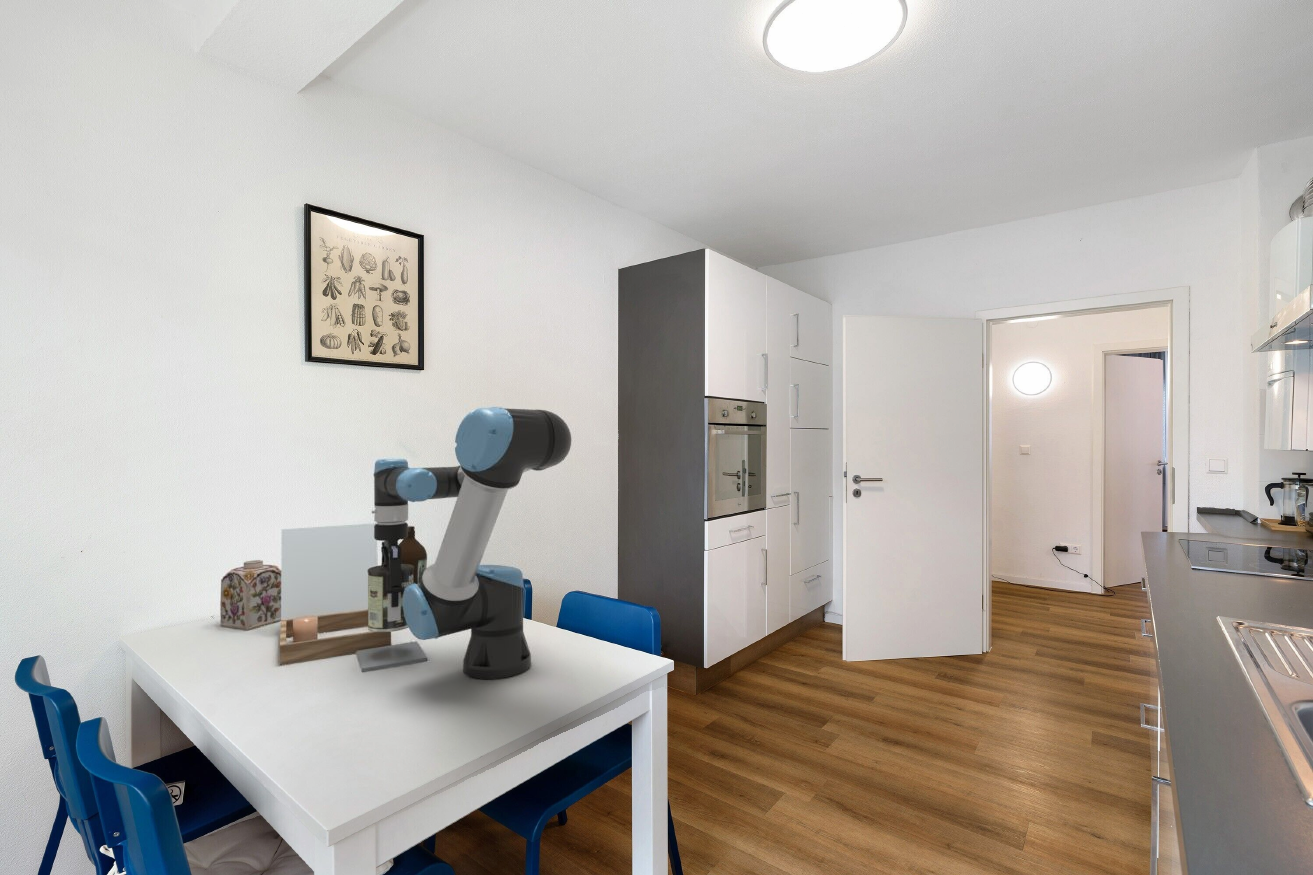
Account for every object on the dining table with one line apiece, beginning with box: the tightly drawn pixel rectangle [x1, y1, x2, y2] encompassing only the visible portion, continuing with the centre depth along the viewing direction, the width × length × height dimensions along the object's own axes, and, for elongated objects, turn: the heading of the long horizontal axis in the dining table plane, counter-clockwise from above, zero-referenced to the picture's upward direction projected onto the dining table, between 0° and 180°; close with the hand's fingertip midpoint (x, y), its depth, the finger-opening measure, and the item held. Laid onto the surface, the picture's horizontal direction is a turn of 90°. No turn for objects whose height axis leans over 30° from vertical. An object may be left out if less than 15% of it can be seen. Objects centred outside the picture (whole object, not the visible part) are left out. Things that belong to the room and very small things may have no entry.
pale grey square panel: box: [280, 522, 379, 620], centre depth 173 cm, size 24×24×1 cm
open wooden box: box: [279, 609, 392, 666], centre depth 159 cm, size 24×24×4 cm
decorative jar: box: [219, 559, 281, 631], centre depth 177 cm, size 12×12×18 cm
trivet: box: [355, 640, 428, 673], centre depth 148 cm, size 14×14×1 cm
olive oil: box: [398, 525, 428, 584], centre depth 197 cm, size 11×11×25 cm
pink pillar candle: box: [292, 616, 319, 643], centre depth 160 cm, size 6×6×6 cm
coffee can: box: [367, 564, 414, 633], centre depth 148 cm, size 10×10×14 cm
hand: (390, 614), depth 148 cm, fingers closed on coffee can, 10 cm apart
